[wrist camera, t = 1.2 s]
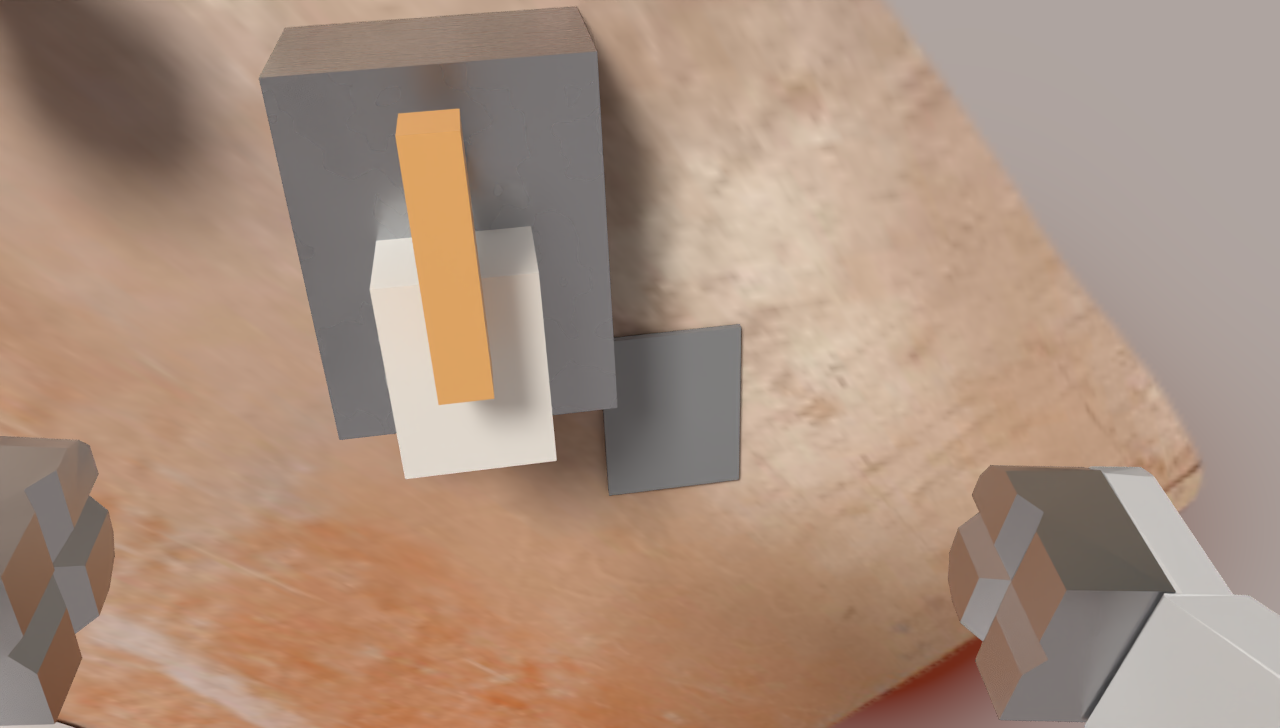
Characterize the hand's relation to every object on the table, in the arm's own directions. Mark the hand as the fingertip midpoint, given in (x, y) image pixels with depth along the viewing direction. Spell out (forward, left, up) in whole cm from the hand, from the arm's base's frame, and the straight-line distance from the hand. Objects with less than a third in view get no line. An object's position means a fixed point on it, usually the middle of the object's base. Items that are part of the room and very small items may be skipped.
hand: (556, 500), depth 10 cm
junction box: (-9, +2, -31) cm, 32 cm away
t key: (-6, +2, -25) cm, 25 cm away
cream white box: (-12, +2, -25) cm, 27 cm away
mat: (-20, -6, -31) cm, 37 cm away
